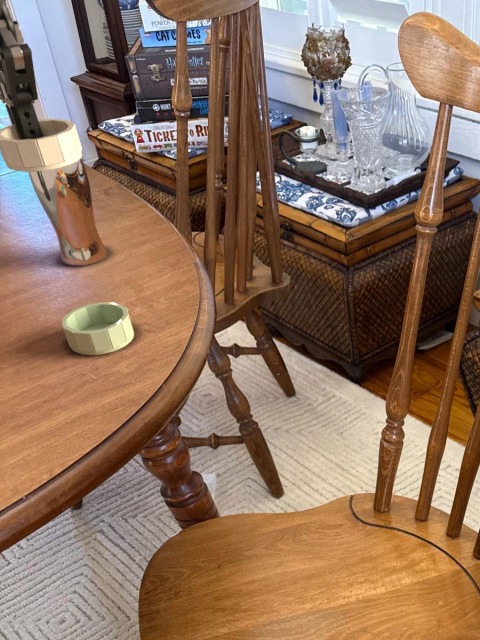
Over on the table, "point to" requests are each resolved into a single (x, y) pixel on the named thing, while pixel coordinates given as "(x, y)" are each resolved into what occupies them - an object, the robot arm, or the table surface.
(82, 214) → the beer glass
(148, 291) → the table surface
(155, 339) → the table surface
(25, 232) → the table surface
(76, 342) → the pale green hollow cylinder
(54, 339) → the table surface
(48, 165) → the faceted cream ring
